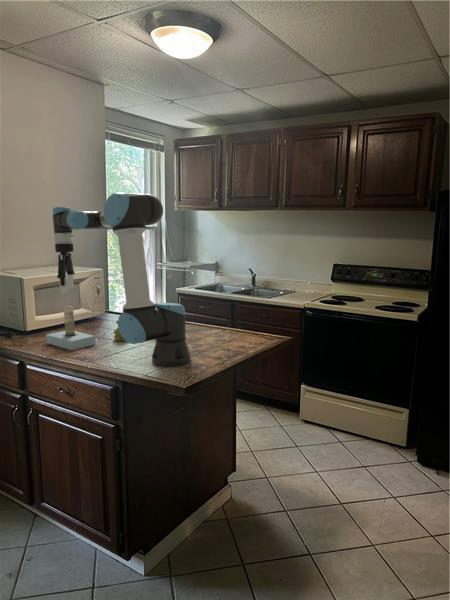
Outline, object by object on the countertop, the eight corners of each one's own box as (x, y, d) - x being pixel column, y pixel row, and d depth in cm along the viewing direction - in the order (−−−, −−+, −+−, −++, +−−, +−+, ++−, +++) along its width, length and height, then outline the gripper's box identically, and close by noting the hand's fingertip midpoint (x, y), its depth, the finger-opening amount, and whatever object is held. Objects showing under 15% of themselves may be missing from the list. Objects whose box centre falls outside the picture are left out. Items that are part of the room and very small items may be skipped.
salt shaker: (118, 337, 212) (117, 317, 211) (132, 338, 211) (131, 317, 209) (111, 341, 205) (110, 320, 204) (126, 342, 204) (125, 321, 202)
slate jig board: (95, 344, 200) (94, 335, 200) (71, 350, 191) (71, 341, 190) (70, 337, 213) (69, 329, 212) (46, 343, 204) (46, 334, 203)
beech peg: (72, 342, 199) (69, 307, 197) (63, 342, 200) (61, 307, 198) (77, 340, 203) (75, 306, 201) (69, 340, 204) (66, 305, 202)
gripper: (66, 243, 183) (70, 294, 186) (78, 241, 207) (81, 286, 211) (47, 244, 182) (51, 295, 185) (61, 242, 206) (65, 287, 210)
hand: (67, 290), depth 198 cm, fingers open, 13 cm apart
